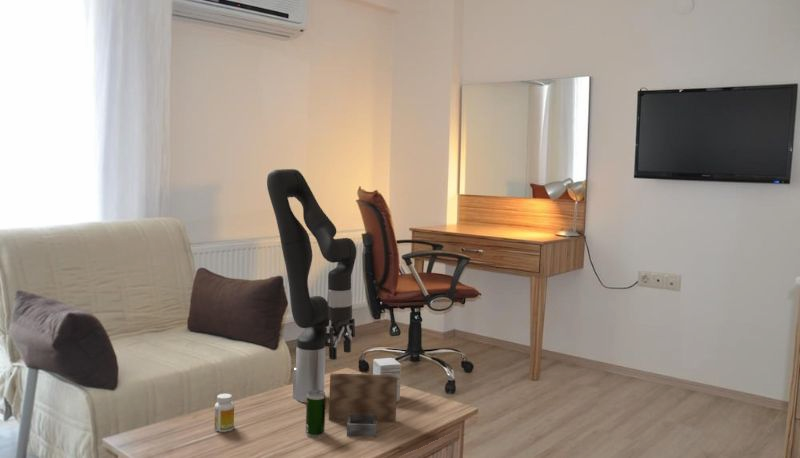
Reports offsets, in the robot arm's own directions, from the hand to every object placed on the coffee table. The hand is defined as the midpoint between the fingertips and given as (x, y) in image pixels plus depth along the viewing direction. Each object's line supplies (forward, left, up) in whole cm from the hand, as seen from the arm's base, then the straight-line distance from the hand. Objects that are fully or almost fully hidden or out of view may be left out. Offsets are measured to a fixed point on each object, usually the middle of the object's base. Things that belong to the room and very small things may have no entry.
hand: (340, 355), depth 211 cm
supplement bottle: (-16, -31, -18) cm, 40 cm away
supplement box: (+5, +19, -18) cm, 26 cm away
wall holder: (+13, -5, -18) cm, 23 cm away
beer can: (+6, -17, -18) cm, 26 cm away
